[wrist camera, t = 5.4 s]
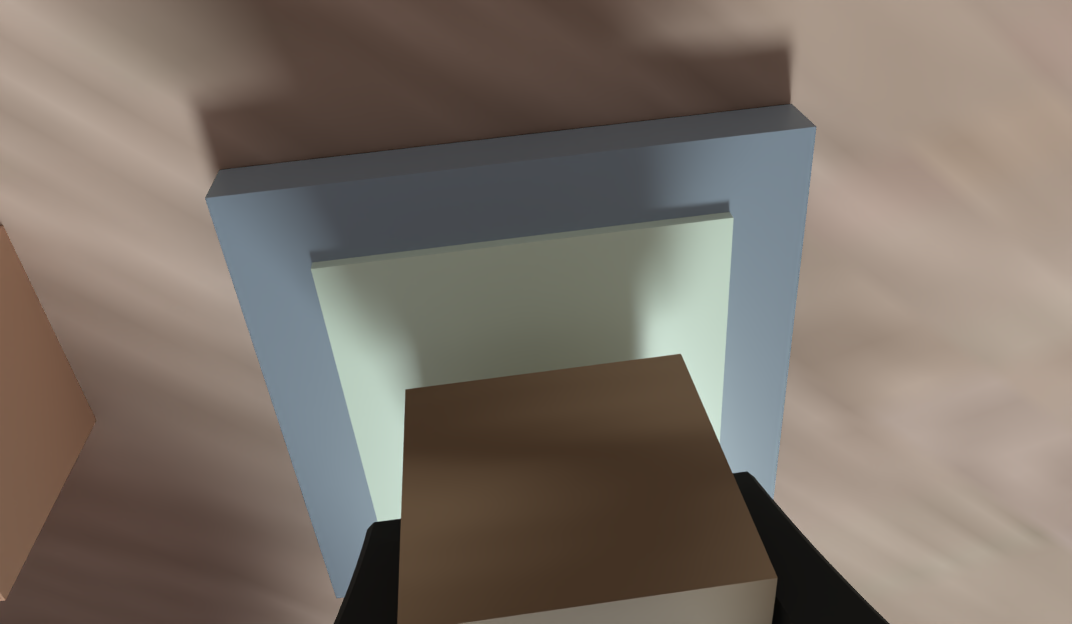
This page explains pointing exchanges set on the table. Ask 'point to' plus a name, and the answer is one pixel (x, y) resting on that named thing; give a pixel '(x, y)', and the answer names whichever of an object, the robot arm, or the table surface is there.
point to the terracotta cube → (32, 416)
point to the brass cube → (575, 503)
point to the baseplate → (515, 283)
